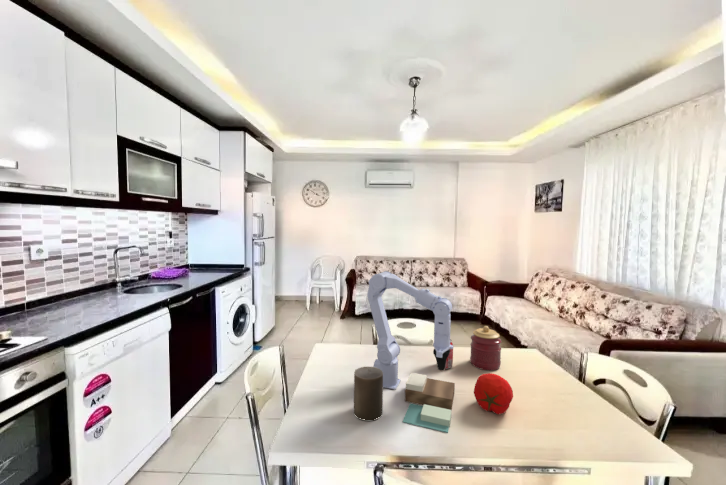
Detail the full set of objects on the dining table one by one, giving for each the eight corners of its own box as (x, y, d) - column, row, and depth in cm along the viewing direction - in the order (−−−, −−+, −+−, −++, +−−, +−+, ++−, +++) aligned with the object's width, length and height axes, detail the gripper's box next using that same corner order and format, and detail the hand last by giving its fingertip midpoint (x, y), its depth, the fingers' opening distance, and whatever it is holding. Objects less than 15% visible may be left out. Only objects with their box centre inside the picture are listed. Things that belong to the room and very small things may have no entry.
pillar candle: (378, 424, 98) (379, 377, 97) (349, 418, 101) (350, 372, 100) (385, 407, 107) (386, 364, 107) (358, 402, 110) (359, 360, 110)
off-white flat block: (422, 392, 110) (422, 386, 109) (405, 388, 112) (405, 383, 112) (426, 380, 118) (426, 375, 118) (411, 377, 120) (411, 372, 120)
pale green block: (423, 404, 105) (423, 409, 105) (420, 414, 100) (420, 420, 100) (451, 409, 102) (451, 415, 102) (449, 420, 96) (449, 426, 96)
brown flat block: (405, 401, 111) (405, 390, 111) (412, 385, 122) (412, 375, 122) (451, 411, 105) (451, 399, 105) (454, 393, 116) (454, 383, 116)
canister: (471, 369, 137) (472, 329, 136) (468, 357, 149) (469, 320, 148) (503, 372, 134) (504, 332, 133) (497, 359, 146) (498, 322, 146)
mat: (402, 422, 99) (402, 421, 99) (409, 403, 109) (409, 403, 109) (447, 433, 94) (448, 432, 94) (451, 412, 104) (451, 411, 104)
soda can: (439, 361, 144) (440, 336, 143) (454, 365, 140) (455, 339, 139) (433, 367, 138) (434, 340, 138) (449, 371, 134) (449, 344, 134)
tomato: (490, 405, 114) (482, 425, 103) (471, 372, 117) (461, 388, 106) (523, 396, 108) (518, 416, 97) (502, 361, 111) (495, 377, 100)
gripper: (451, 341, 105) (450, 380, 105) (455, 328, 118) (454, 363, 119) (430, 338, 107) (429, 376, 108) (436, 325, 121) (435, 360, 121)
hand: (441, 369), depth 114 cm, fingers closed
